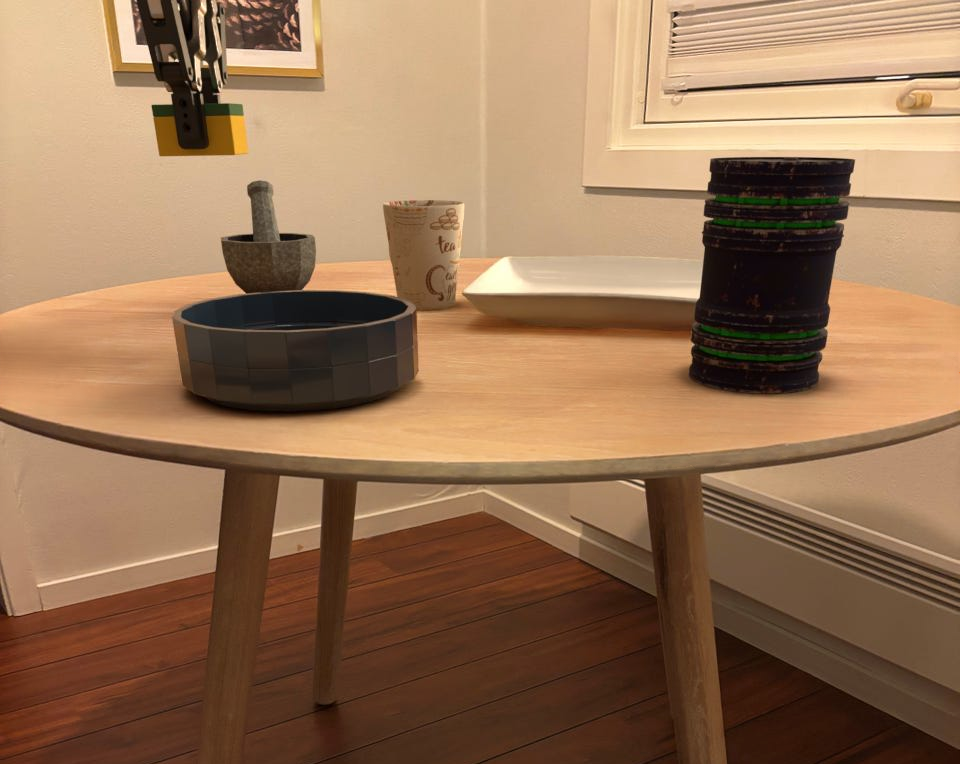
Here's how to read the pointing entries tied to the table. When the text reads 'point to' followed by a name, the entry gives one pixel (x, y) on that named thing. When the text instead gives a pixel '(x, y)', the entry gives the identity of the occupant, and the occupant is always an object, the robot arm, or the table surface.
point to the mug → (425, 250)
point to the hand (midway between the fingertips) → (203, 146)
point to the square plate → (591, 291)
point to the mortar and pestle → (268, 250)
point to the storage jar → (768, 271)
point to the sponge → (221, 127)
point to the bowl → (297, 348)
